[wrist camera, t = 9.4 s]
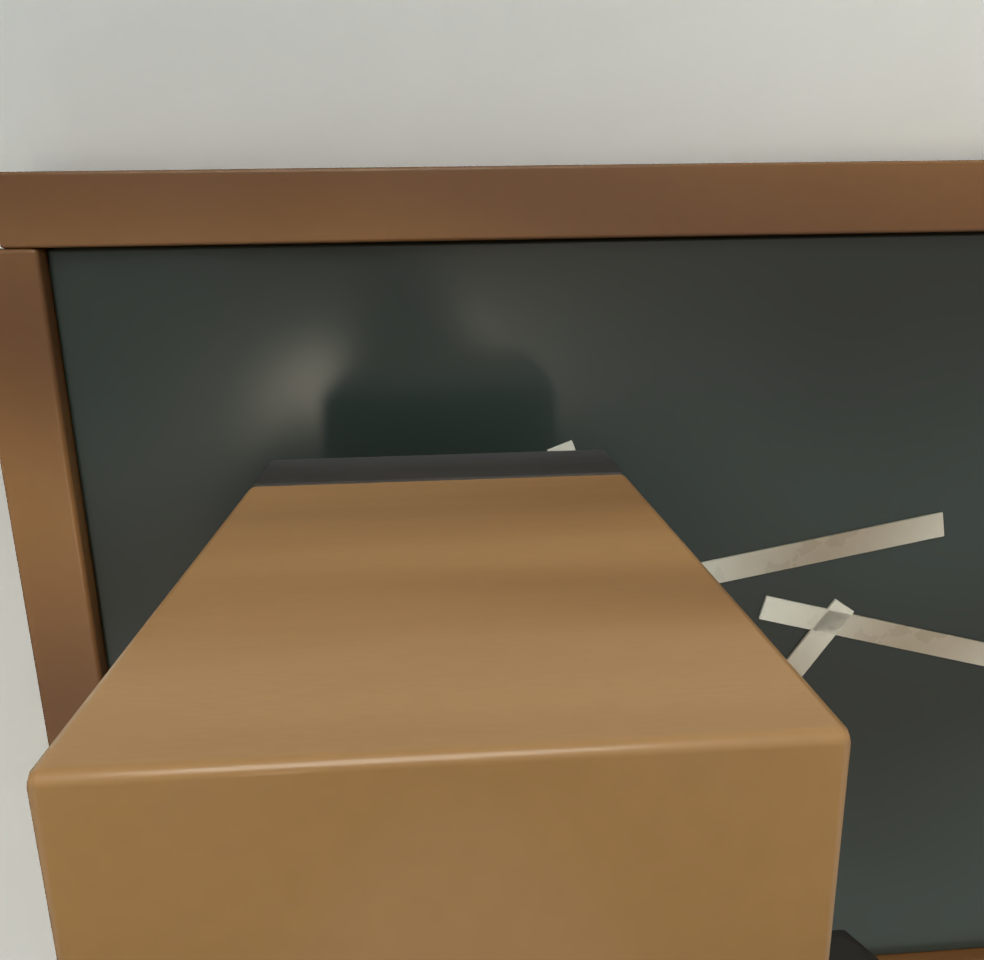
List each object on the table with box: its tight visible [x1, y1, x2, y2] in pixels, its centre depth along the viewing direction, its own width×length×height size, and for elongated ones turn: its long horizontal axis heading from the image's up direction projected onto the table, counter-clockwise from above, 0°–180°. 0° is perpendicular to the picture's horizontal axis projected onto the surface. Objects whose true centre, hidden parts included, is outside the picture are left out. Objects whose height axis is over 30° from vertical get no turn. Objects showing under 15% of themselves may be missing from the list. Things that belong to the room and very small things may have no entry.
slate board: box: [0, 160, 984, 960], centre depth 18 cm, size 18×28×2 cm, turn 91°
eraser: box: [27, 450, 851, 960], centre depth 10 cm, size 10×5×8 cm, turn 1°
